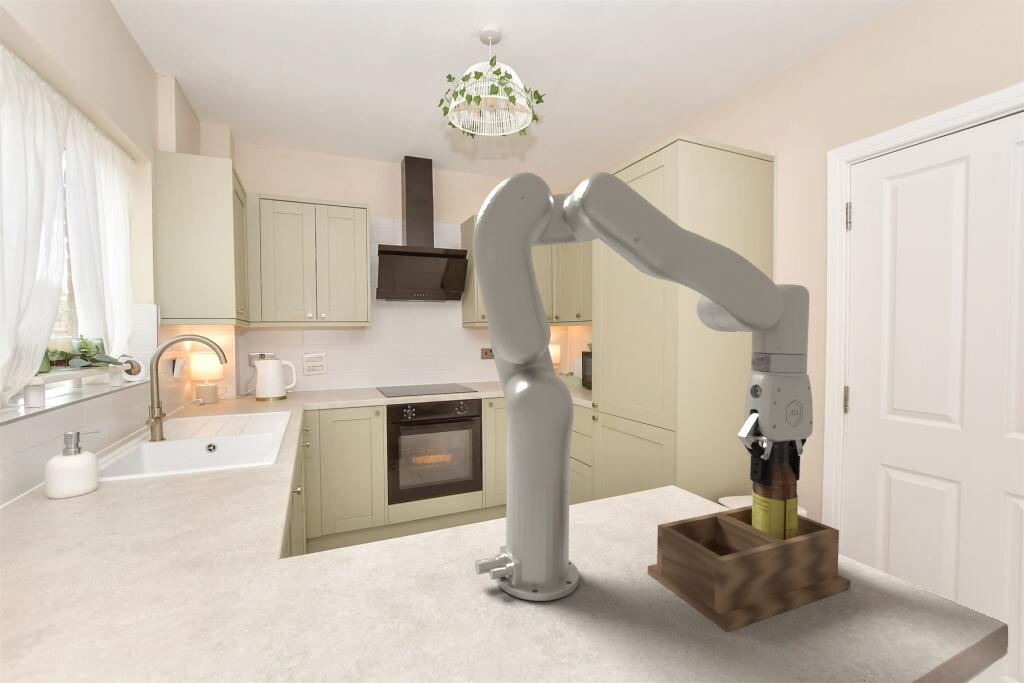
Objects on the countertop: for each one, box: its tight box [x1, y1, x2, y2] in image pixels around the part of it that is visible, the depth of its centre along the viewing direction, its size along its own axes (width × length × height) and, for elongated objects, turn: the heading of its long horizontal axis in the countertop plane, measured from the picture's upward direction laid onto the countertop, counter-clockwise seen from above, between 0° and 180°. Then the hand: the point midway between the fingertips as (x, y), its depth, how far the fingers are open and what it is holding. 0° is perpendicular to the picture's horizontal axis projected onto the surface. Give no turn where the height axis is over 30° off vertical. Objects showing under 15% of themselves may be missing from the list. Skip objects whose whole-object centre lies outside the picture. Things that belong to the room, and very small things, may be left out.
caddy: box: [647, 505, 851, 633], centre depth 70 cm, size 25×15×8 cm, turn 114°
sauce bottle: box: [751, 433, 799, 540], centre depth 73 cm, size 6×6×20 cm
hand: (774, 479), depth 72 cm, fingers closed on sauce bottle, 5 cm apart
